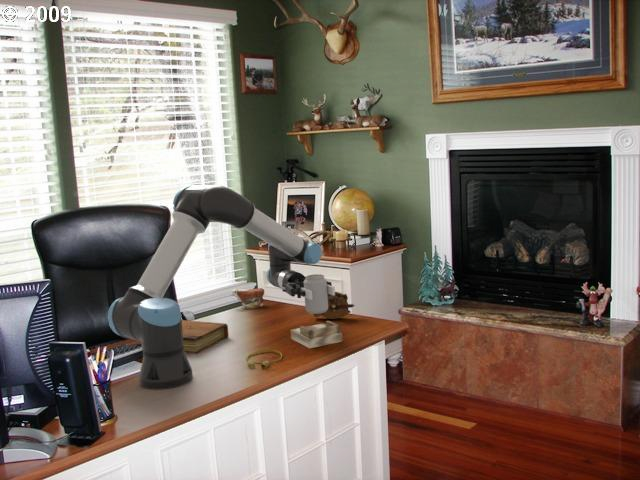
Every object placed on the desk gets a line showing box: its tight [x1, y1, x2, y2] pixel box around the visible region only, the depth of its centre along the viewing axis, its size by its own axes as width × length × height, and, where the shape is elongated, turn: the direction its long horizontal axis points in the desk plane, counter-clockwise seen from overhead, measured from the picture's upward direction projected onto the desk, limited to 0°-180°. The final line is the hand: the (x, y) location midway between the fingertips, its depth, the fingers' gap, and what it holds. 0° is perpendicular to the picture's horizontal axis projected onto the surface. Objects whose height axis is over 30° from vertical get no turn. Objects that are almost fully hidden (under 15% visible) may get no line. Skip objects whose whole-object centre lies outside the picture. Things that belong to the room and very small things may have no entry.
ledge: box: [290, 320, 343, 349], centre depth 243 cm, size 12×14×6 cm
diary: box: [181, 319, 230, 354], centre depth 250 cm, size 23×19×6 cm
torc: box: [245, 349, 283, 370], centre depth 226 cm, size 12×16×2 cm
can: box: [304, 273, 328, 315], centre depth 240 cm, size 8×8×12 cm
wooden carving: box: [312, 291, 355, 320], centre depth 268 cm, size 16×5×10 cm, turn 83°
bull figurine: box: [230, 287, 265, 310], centre depth 294 cm, size 4×13×8 cm, turn 100°
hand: (322, 293), depth 235 cm, fingers closed on can, 7 cm apart
